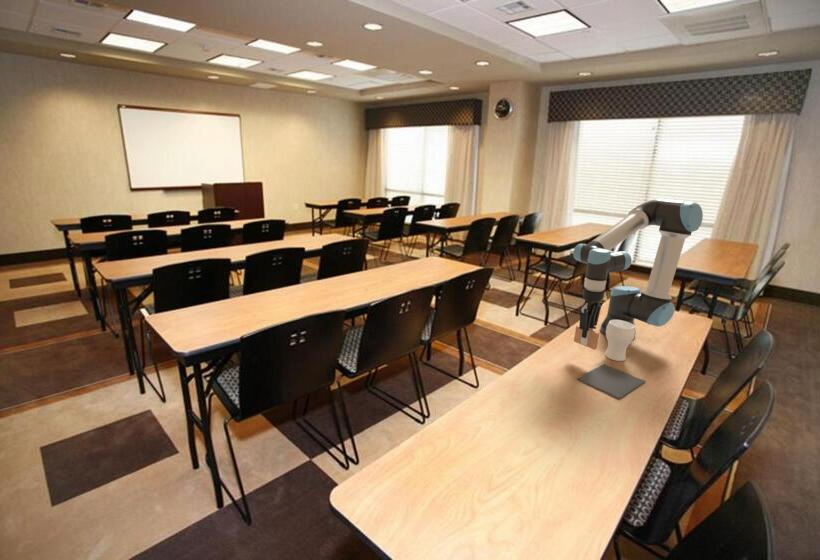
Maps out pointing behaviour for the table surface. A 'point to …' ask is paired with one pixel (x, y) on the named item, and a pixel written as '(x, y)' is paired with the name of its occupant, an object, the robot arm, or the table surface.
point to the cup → (618, 339)
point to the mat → (611, 381)
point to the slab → (591, 341)
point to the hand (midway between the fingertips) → (585, 343)
